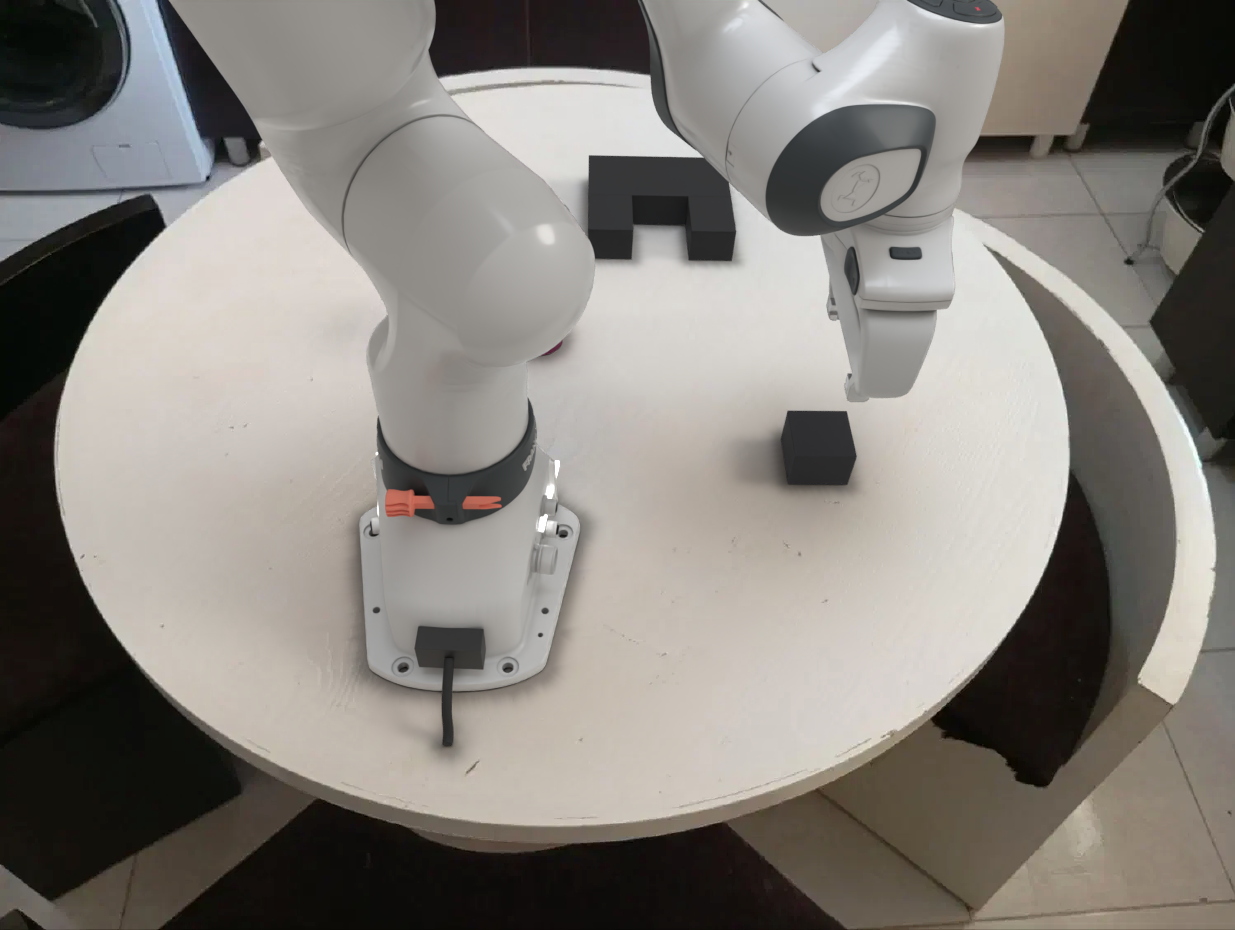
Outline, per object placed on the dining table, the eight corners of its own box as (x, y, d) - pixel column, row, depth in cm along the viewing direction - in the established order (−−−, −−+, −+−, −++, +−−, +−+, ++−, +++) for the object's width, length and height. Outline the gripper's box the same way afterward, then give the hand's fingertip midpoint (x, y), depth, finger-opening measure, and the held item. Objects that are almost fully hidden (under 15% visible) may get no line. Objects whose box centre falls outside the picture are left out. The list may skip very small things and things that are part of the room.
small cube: (847, 484, 90) (857, 456, 87) (787, 484, 90) (795, 456, 87) (838, 439, 94) (847, 410, 91) (780, 438, 94) (787, 410, 90)
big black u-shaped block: (731, 261, 110) (736, 231, 107) (587, 258, 110) (588, 229, 107) (721, 186, 119) (725, 157, 116) (588, 184, 119) (588, 155, 116)
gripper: (820, 132, 77) (791, 271, 88) (866, 307, 64) (825, 446, 75) (900, 133, 77) (862, 272, 88) (962, 309, 64) (908, 447, 75)
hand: (845, 354), depth 81 cm, fingers open, 8 cm apart
